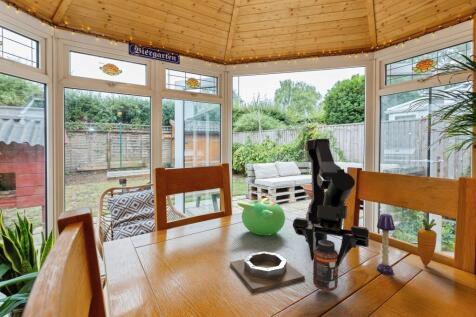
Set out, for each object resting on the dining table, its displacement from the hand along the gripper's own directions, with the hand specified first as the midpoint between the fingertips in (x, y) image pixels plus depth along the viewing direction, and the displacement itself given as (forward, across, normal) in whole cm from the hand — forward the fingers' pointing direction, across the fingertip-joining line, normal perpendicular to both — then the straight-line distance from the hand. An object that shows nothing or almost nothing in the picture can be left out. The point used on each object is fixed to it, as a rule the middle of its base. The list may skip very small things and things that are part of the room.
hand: (324, 262), depth 65 cm
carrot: (-15, +24, +28) cm, 40 cm away
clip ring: (+4, -17, +8) cm, 20 cm away
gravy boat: (-16, -31, +29) cm, 45 cm away
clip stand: (+4, -17, +8) cm, 20 cm away
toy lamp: (-9, +13, +21) cm, 27 cm away
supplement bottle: (+4, 0, +6) cm, 7 cm away
